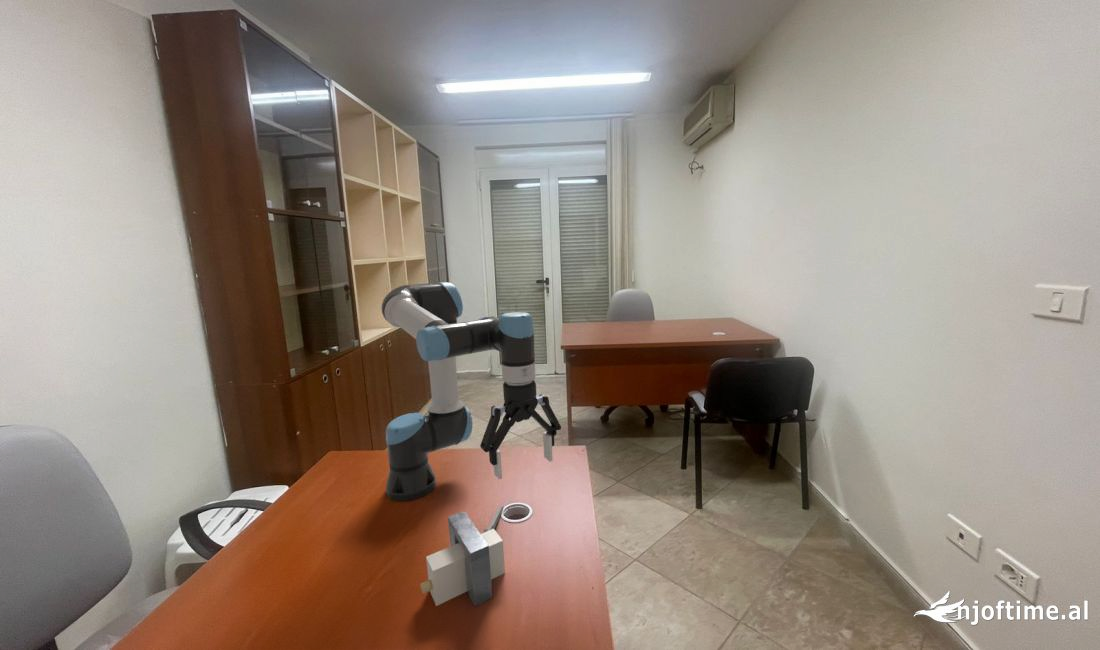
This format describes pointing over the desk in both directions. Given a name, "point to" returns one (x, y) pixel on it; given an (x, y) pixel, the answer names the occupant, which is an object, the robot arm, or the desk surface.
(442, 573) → the plug
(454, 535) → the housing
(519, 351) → the robot arm
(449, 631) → the desk surface
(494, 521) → the caliper
